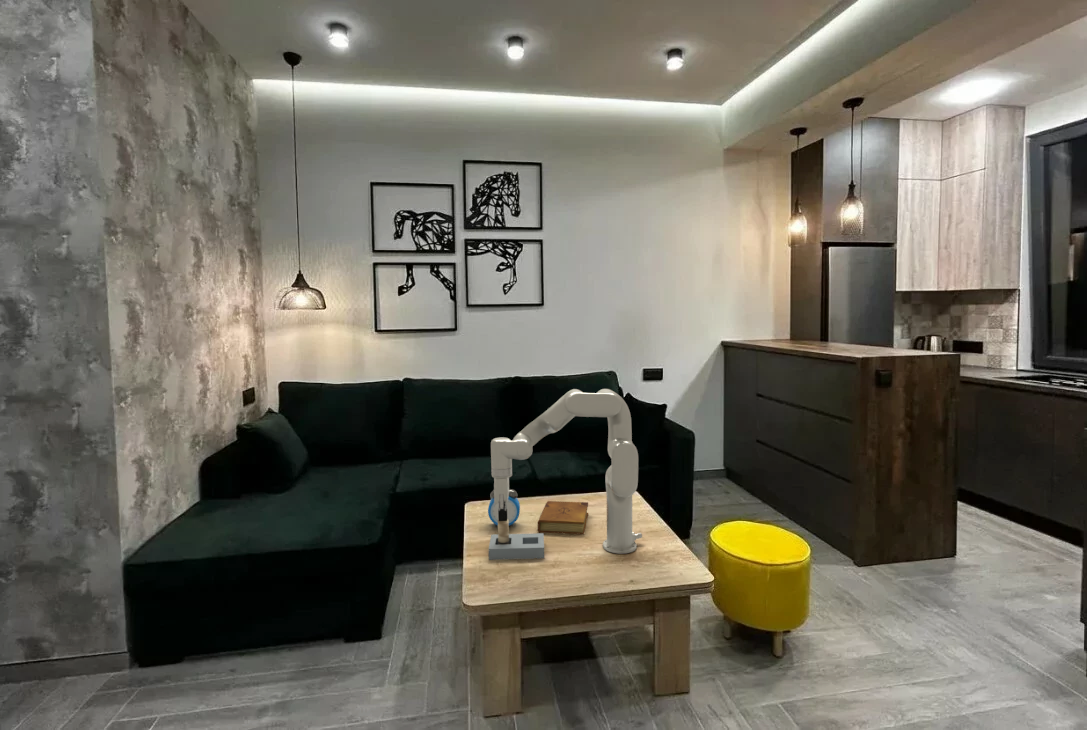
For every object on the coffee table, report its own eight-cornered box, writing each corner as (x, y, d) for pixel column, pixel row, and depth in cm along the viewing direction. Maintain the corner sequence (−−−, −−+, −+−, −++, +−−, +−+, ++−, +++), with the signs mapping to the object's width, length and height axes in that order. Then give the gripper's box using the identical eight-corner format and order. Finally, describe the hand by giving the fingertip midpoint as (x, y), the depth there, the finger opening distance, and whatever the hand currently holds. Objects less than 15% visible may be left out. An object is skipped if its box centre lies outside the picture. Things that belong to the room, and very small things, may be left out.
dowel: (506, 548, 205) (505, 517, 204) (511, 552, 202) (510, 520, 200) (496, 550, 203) (495, 519, 202) (501, 555, 199) (500, 523, 198)
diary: (546, 513, 242) (546, 500, 242) (588, 515, 240) (588, 502, 239) (537, 533, 220) (537, 519, 219) (583, 535, 217) (583, 521, 216)
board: (543, 543, 209) (543, 533, 209) (544, 558, 196) (544, 547, 196) (491, 544, 209) (491, 534, 208) (488, 559, 196) (488, 549, 195)
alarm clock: (488, 527, 225) (487, 492, 224) (489, 522, 232) (488, 487, 230) (519, 527, 226) (519, 491, 224) (520, 521, 232) (519, 487, 230)
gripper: (493, 466, 207) (494, 513, 209) (489, 477, 192) (491, 528, 194) (512, 465, 207) (513, 512, 209) (511, 477, 192) (512, 527, 194)
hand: (502, 520), depth 201 cm, fingers closed
